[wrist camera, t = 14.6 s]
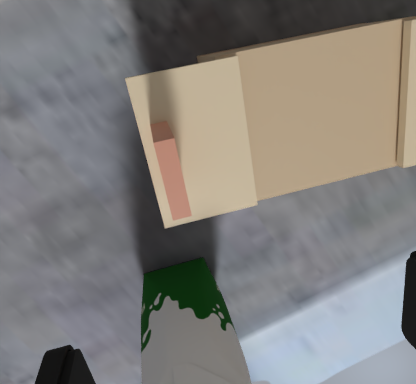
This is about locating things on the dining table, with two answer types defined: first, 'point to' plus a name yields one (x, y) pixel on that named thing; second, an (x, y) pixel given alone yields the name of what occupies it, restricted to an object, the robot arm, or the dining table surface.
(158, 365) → the soya milk
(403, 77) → the flap
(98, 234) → the dining table surface
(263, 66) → the carton
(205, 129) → the flap
